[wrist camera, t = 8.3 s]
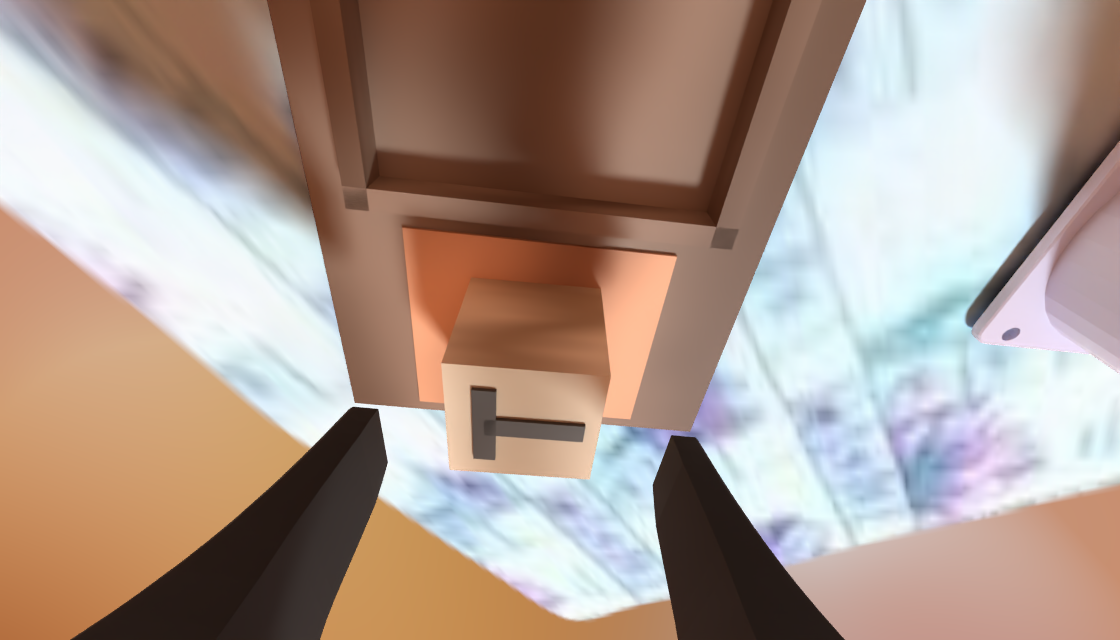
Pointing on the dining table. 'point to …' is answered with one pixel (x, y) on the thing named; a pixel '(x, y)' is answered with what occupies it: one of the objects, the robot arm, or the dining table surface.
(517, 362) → the letter cube
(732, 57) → the organiser
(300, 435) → the dining table surface
